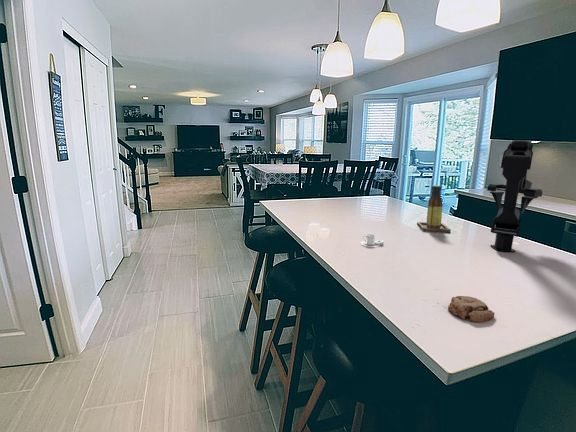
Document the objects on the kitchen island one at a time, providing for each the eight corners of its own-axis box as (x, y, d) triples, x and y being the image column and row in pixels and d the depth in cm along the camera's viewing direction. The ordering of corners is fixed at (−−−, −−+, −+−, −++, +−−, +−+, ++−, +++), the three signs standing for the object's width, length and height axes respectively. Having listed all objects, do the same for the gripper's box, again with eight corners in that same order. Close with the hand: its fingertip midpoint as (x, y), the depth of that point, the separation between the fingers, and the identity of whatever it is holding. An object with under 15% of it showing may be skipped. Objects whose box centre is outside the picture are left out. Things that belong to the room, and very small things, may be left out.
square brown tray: (450, 232, 153) (450, 229, 153) (422, 231, 155) (422, 228, 154) (442, 226, 165) (443, 223, 164) (416, 224, 166) (417, 221, 166)
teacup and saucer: (385, 244, 135) (386, 234, 134) (378, 249, 129) (379, 239, 128) (364, 240, 140) (364, 231, 139) (356, 245, 133) (357, 235, 132)
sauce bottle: (442, 228, 159) (447, 186, 155) (437, 230, 155) (442, 187, 151) (428, 225, 164) (433, 184, 159) (423, 227, 160) (427, 185, 155)
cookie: (480, 303, 87) (481, 292, 87) (501, 325, 77) (503, 313, 76) (440, 301, 88) (441, 290, 87) (455, 322, 78) (457, 310, 77)
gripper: (553, 174, 131) (546, 214, 134) (505, 170, 147) (499, 205, 151) (537, 175, 126) (529, 216, 129) (489, 170, 142) (483, 207, 146)
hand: (509, 210), depth 139 cm, fingers open, 9 cm apart
